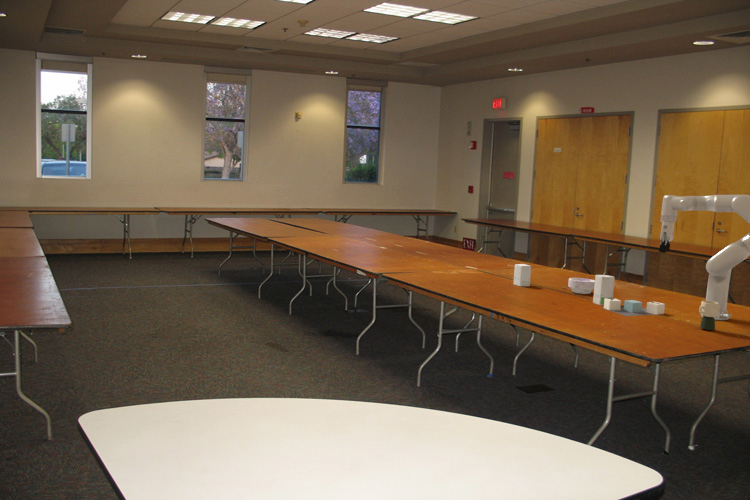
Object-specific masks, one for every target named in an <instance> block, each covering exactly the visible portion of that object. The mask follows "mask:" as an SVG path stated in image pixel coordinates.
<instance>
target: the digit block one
mask: <svg viewBox="0 0 750 500" xmlns="http://www.w3.org/2000/svg"><path fill="white" fill-rule="evenodd" d="M665 307H666V303H662V302H658V301H649V302H648V301H647V302H646V307H645V309H646V312H648V313H652V314H656V315H664V314H665Z"/></svg>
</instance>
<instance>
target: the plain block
mask: <svg viewBox="0 0 750 500" xmlns="http://www.w3.org/2000/svg"><path fill="white" fill-rule="evenodd" d="M623 303H624V305H623V307H624V310H625V311H629V312H632V313H634V312H641V311H642V308H643V301H639V300H634V299H630V300H629V299H628V300H626V299H625V300H624V302H623Z"/></svg>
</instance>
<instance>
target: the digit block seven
mask: <svg viewBox="0 0 750 500" xmlns="http://www.w3.org/2000/svg"><path fill="white" fill-rule="evenodd" d="M621 303H622V301H621V300H620V299H618V298H614V297H613V298H605V299H604V305H603V308H605V309H604V310H606V309H607V310H606V311H609V310H620V307H622V304H621Z"/></svg>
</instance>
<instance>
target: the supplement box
mask: <svg viewBox="0 0 750 500" xmlns="http://www.w3.org/2000/svg"><path fill="white" fill-rule="evenodd" d="M531 272H532V265H528V264H527V263H526V264H525V263H520V264H519V263H518V264H517V263H516V264H514V271H513V285H515V286H518V287H530V286H531V277H532V276H531Z"/></svg>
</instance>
